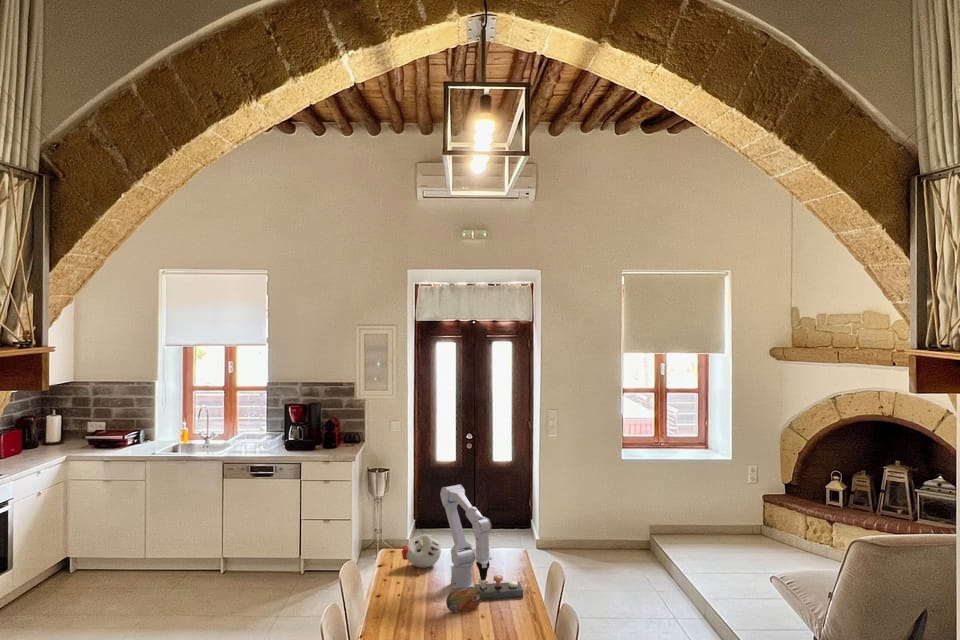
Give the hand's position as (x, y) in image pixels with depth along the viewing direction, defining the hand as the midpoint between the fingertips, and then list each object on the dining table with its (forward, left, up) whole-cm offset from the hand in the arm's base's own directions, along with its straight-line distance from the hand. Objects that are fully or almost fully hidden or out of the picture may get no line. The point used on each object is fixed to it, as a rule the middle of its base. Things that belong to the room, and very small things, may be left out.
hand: (483, 579), depth 281 cm
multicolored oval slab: (-10, -14, -7) cm, 18 cm away
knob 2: (+13, 0, -7) cm, 15 cm away
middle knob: (+7, 0, -4) cm, 7 cm away
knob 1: (0, 0, -4) cm, 4 cm away
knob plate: (+6, 0, -7) cm, 9 cm away
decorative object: (-27, +40, -7) cm, 49 cm away
